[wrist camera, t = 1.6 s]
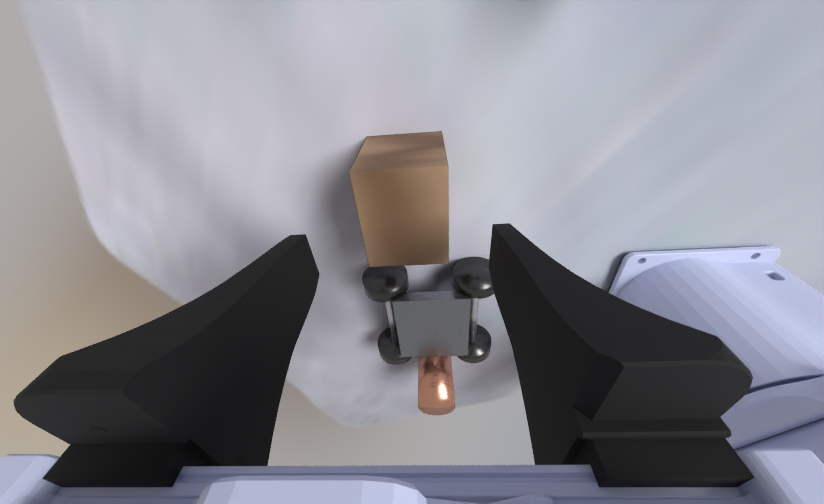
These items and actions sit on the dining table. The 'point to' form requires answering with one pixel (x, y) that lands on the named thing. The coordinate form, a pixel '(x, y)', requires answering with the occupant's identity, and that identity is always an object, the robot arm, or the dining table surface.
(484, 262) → the dolly
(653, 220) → the dining table surface
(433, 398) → the pin
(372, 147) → the block
